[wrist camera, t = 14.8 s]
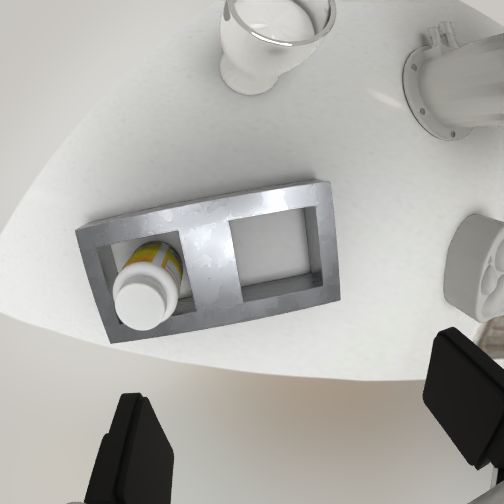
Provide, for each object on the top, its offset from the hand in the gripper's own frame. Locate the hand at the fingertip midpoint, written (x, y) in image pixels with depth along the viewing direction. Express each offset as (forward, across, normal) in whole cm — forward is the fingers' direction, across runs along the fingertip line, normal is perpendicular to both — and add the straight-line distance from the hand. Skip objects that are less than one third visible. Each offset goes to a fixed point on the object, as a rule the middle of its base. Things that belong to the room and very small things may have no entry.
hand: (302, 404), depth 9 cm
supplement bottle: (+25, +9, +2) cm, 27 cm away
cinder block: (+25, +4, +2) cm, 25 cm away
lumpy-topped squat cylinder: (+26, -31, +10) cm, 42 cm away
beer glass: (+26, -3, -16) cm, 30 cm away
